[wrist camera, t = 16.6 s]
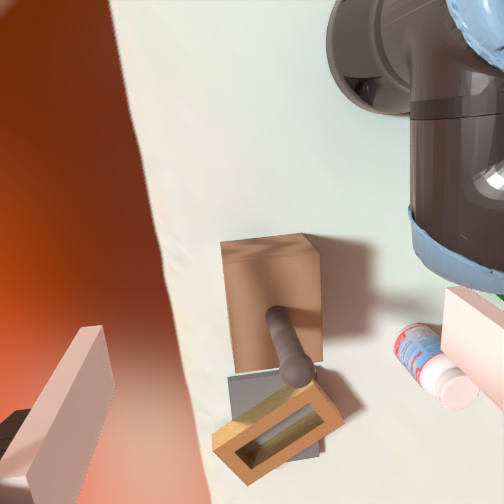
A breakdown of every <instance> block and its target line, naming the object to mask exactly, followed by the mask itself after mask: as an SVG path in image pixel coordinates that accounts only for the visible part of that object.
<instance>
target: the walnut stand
mask: <svg viewBox="0 0 504 504" xmlns="http://www.w3.org/2000/svg"><path fill="white" fill-rule="evenodd" d="M220 245H221V255H222V264H223V273H224V282H225V291H226V300H227V309H228V318H229V328H230V337H231V344H232V351H233V358H234V365H235V373H243V372H250V371H257V370H264V369H271V368H278V367H279V372H280V376H281V378H282V380H283V381H284V382H285V383H286V384H287V385H288V386H290V387H292V388H303V387H305V386H307V385H308V384H310V382H311V381H312V380H313V378H314V375H315V366H314V362H321V361H323V346H322V310H321V274H320V253H319V252H318V251H317V250H316V248H315V247H314V246H313V245H312V244H311V243H310V242H309V241H308V239H307V238H306V237H305V236H304V235H303V234H302V233H297V234H288V235H279V236H270V237H262V238H253V239H244V240H235V241H226V242H220Z"/></svg>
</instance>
